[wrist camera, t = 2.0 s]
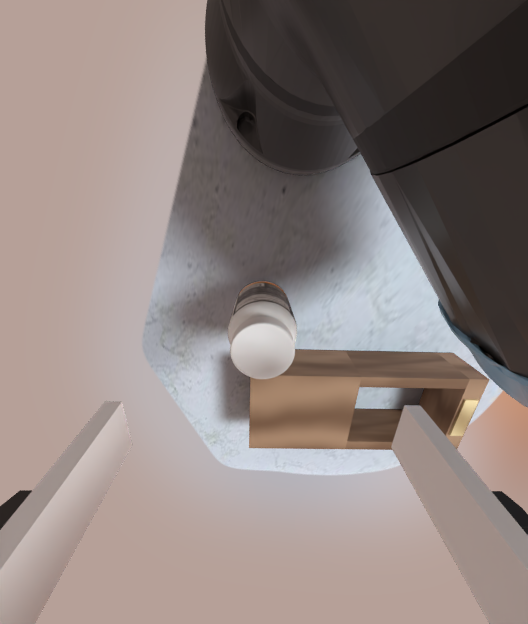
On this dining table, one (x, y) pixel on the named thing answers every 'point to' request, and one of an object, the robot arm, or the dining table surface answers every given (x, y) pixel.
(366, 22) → the robot arm
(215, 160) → the dining table surface
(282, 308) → the pill bottle
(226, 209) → the dining table surface
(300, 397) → the brown wooden open box
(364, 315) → the dining table surface
